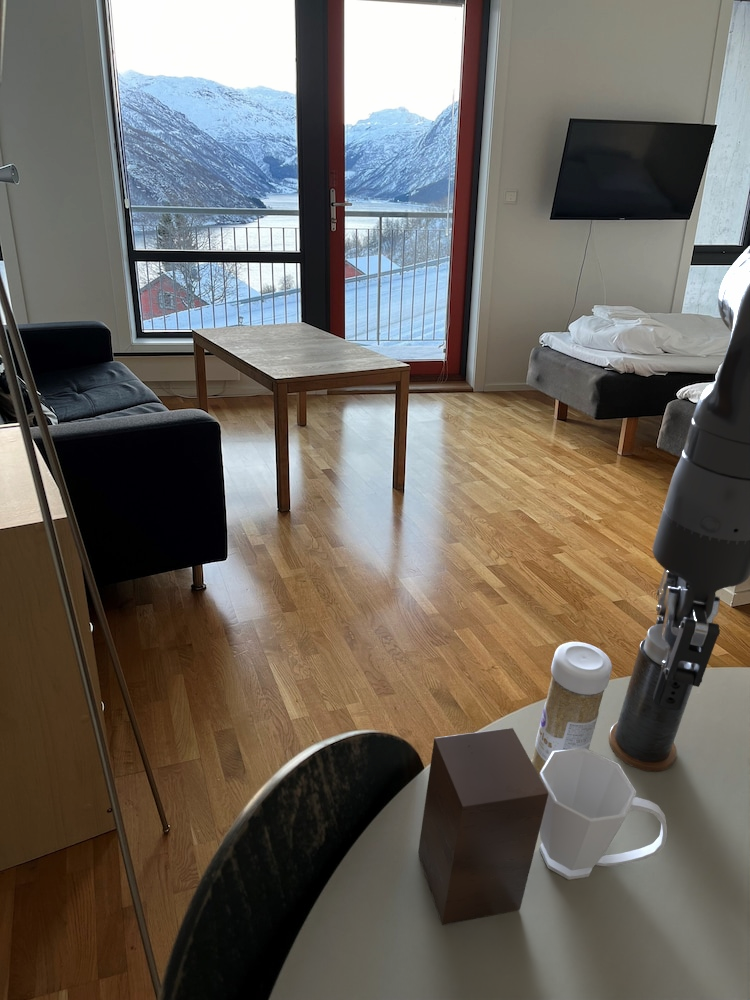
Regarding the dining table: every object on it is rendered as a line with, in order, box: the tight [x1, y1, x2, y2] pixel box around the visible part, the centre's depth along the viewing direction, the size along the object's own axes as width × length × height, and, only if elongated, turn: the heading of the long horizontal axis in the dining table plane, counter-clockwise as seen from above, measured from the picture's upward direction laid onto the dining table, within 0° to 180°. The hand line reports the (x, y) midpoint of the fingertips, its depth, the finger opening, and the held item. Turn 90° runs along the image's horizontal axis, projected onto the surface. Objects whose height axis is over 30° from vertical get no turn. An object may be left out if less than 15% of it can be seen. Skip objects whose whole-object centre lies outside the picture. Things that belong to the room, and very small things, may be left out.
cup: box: [538, 748, 668, 881], centre depth 56 cm, size 7×10×8 cm
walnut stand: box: [417, 727, 549, 926], centre depth 53 cm, size 6×6×12 cm
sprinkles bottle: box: [530, 641, 613, 776], centre depth 62 cm, size 5×5×13 cm
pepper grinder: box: [615, 624, 693, 763], centre depth 66 cm, size 5×5×12 cm
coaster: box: [608, 721, 678, 772], centre depth 69 cm, size 6×6×1 cm
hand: (663, 677), depth 65 cm, fingers open, 7 cm apart
